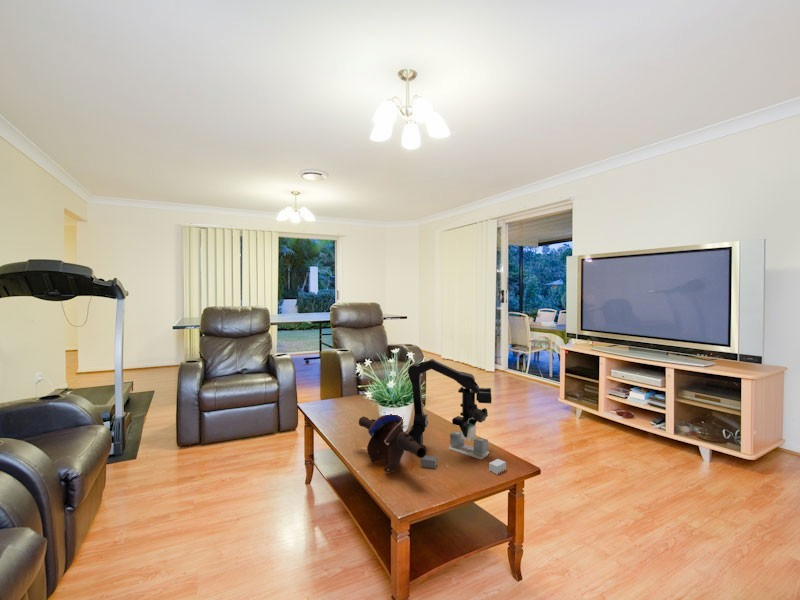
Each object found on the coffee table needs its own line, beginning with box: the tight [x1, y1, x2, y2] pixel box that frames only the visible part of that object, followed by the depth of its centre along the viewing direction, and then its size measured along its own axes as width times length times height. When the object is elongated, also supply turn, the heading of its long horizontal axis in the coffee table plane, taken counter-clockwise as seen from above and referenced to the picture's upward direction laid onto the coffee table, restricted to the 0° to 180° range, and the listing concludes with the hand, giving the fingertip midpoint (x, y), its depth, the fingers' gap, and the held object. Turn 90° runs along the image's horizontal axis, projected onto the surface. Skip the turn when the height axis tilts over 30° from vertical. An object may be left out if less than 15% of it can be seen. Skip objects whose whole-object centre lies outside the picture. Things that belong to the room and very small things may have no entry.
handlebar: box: [358, 414, 427, 473], centre depth 163 cm, size 45×13×20 cm, turn 37°
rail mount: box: [448, 430, 490, 460], centre depth 176 cm, size 7×17×7 cm, turn 49°
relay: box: [420, 454, 438, 469], centre depth 162 cm, size 4×6×4 cm, turn 74°
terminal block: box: [488, 458, 507, 475], centre depth 158 cm, size 6×4×4 cm, turn 129°
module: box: [460, 423, 477, 442], centre depth 176 cm, size 5×5×6 cm
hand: (468, 435), depth 176 cm, fingers closed on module, 4 cm apart
